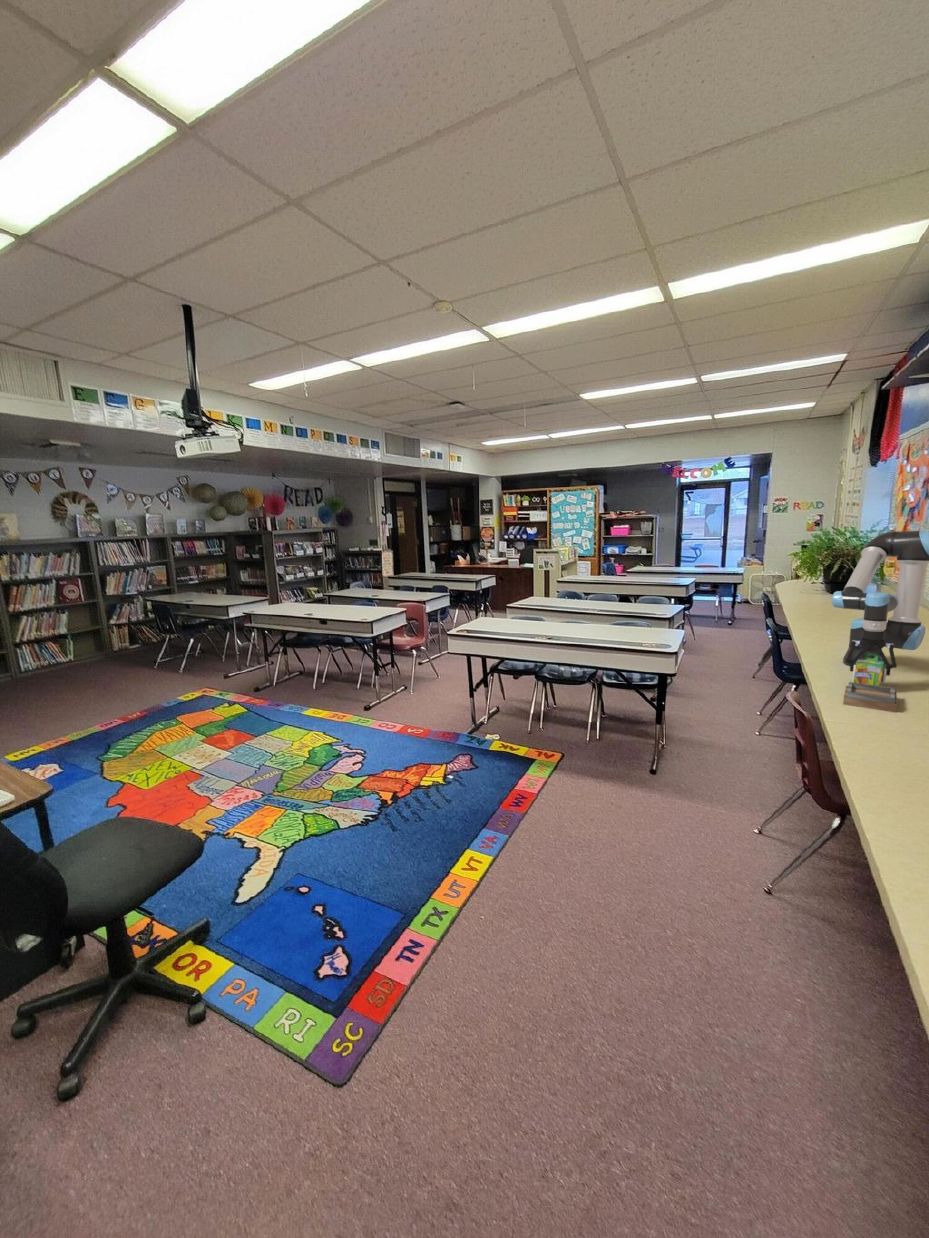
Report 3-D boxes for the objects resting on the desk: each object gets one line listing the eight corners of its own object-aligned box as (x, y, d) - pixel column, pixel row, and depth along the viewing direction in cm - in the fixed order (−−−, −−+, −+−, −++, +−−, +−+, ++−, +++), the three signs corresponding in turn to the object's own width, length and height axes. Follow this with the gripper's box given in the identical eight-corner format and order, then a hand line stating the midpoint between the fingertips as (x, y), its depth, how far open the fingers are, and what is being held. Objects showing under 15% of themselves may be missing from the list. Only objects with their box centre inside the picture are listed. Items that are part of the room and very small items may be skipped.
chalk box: (852, 687, 210) (855, 654, 207) (856, 681, 216) (859, 649, 213) (880, 691, 204) (884, 657, 201) (883, 685, 210) (887, 652, 207)
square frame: (845, 692, 208) (846, 681, 207) (895, 699, 198) (896, 687, 197) (843, 704, 196) (844, 692, 195) (896, 712, 186) (897, 699, 185)
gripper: (840, 629, 209) (835, 678, 214) (909, 634, 195) (903, 687, 200) (841, 625, 215) (837, 674, 219) (909, 630, 201) (902, 682, 205)
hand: (868, 680), depth 210 cm, fingers closed on chalk box, 9 cm apart
